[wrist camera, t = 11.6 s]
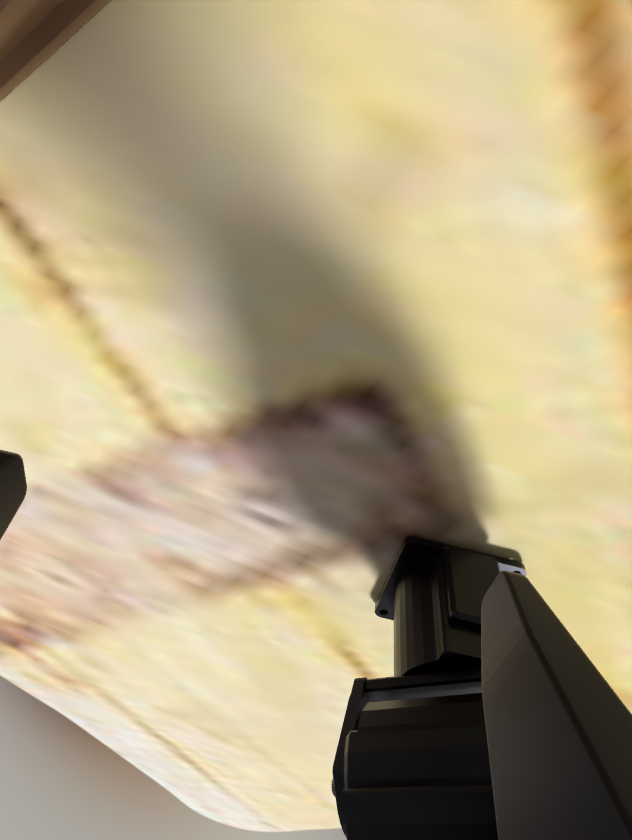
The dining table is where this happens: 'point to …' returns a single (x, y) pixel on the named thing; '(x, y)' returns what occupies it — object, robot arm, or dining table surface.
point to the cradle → (37, 33)
